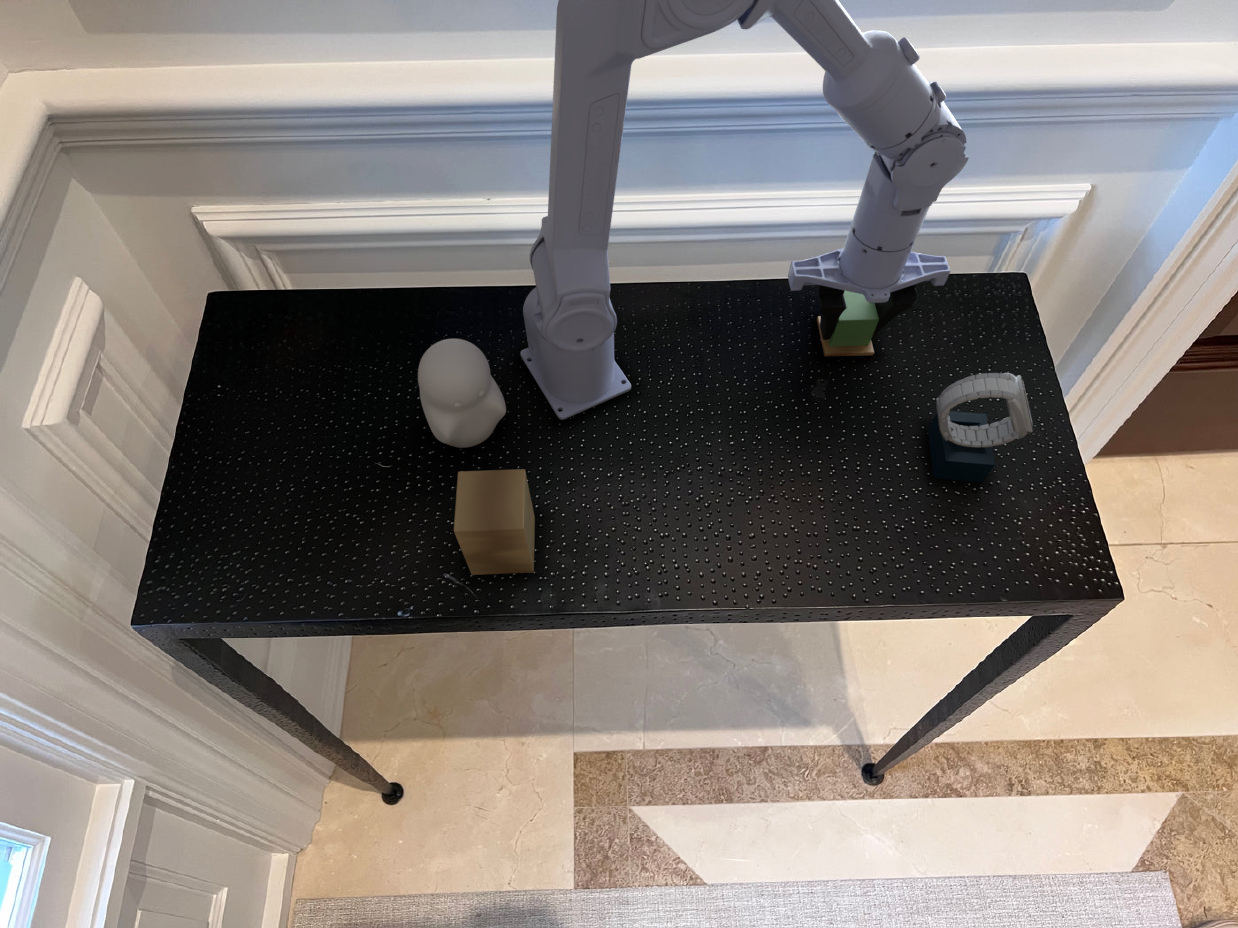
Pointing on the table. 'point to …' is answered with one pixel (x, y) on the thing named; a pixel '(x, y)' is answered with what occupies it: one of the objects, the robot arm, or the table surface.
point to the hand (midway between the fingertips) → (846, 331)
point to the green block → (855, 322)
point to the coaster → (844, 347)
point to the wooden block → (495, 521)
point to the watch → (975, 426)
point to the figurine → (459, 393)
